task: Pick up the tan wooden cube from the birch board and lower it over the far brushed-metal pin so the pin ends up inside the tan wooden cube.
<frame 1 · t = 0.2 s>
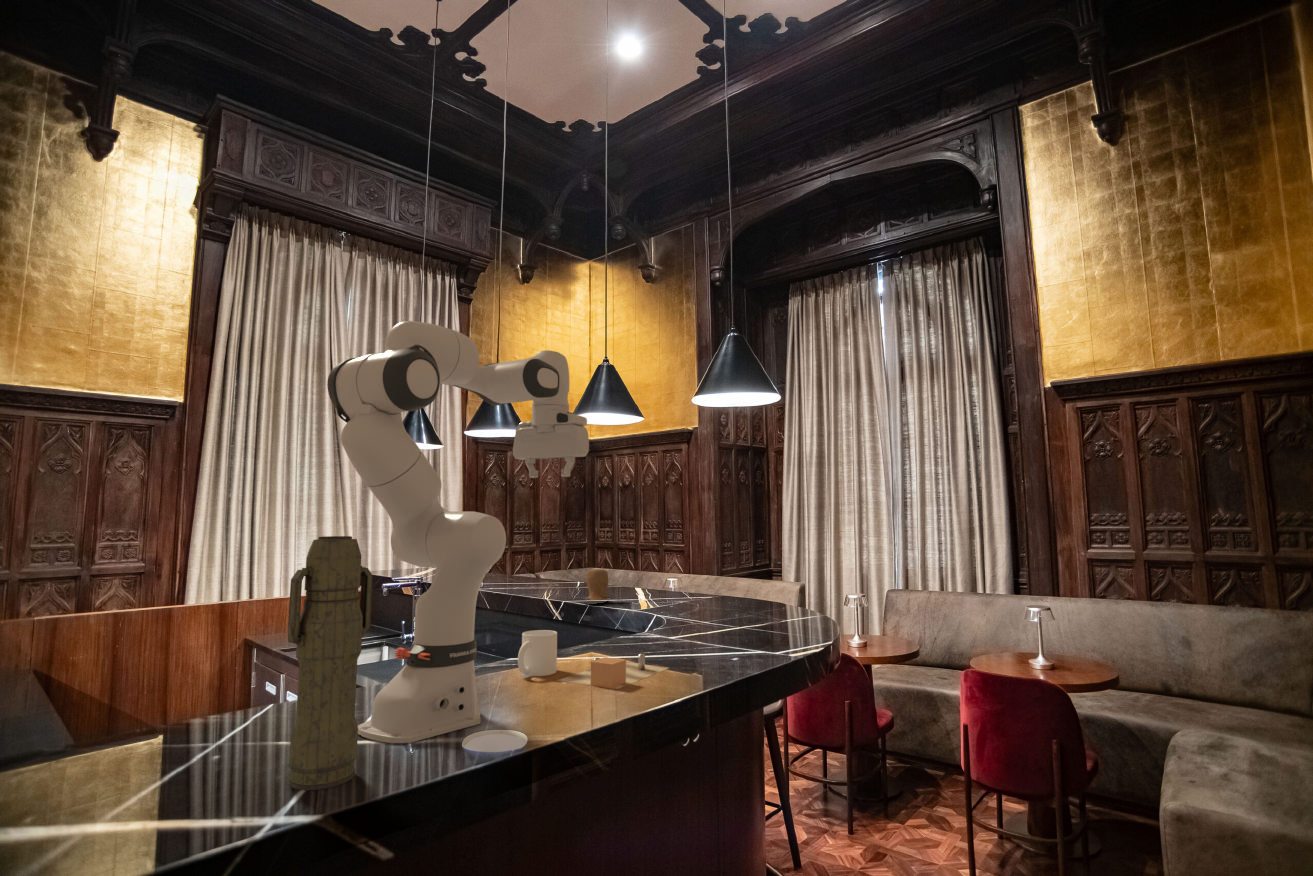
hand: (549, 477, 161), 47 cm above the counter, tool pointing down, fingers open, 8 cm apart
stone cup: (596, 604, 298), on the counter
mug: (534, 679, 160), on the counter
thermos: (323, 779, 99), on the counter
tan wooden cube: (608, 684, 150), point 1 cm above the counter, touching board
pins: (619, 664, 162), on the board, point 3 cm above the counter
board: (615, 679, 159), on the counter
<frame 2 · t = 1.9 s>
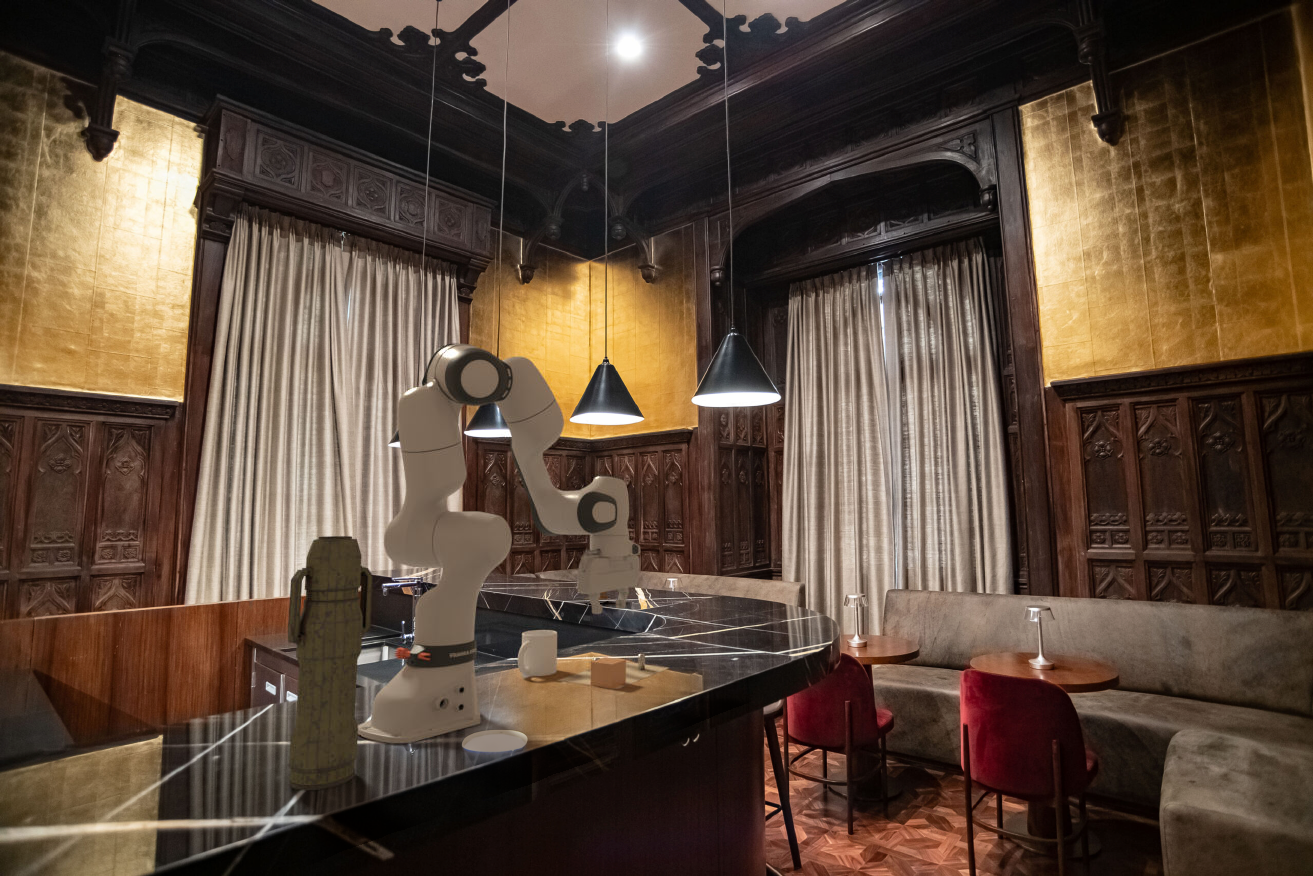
hand: (609, 610, 151), 17 cm above the counter, tool pointing down, fingers open, 8 cm apart
nothing on the counter moved.
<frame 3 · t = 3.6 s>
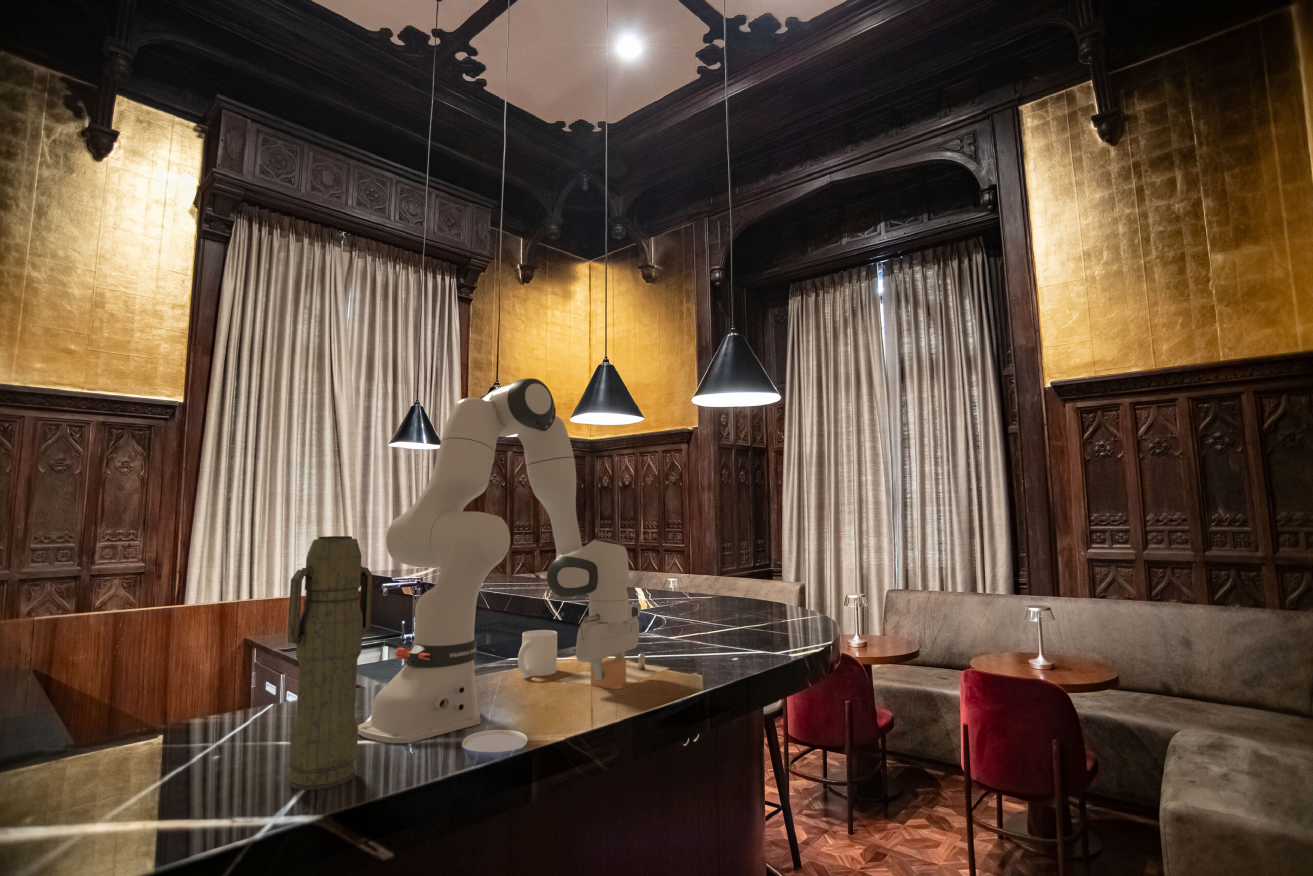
hand: (608, 676, 150), 3 cm above the counter, tool pointing down, fingers closed on tan wooden cube, 6 cm apart
tan wooden cube: (608, 684, 150), point 1 cm above the counter, touching board, gripper
everything else where it was.
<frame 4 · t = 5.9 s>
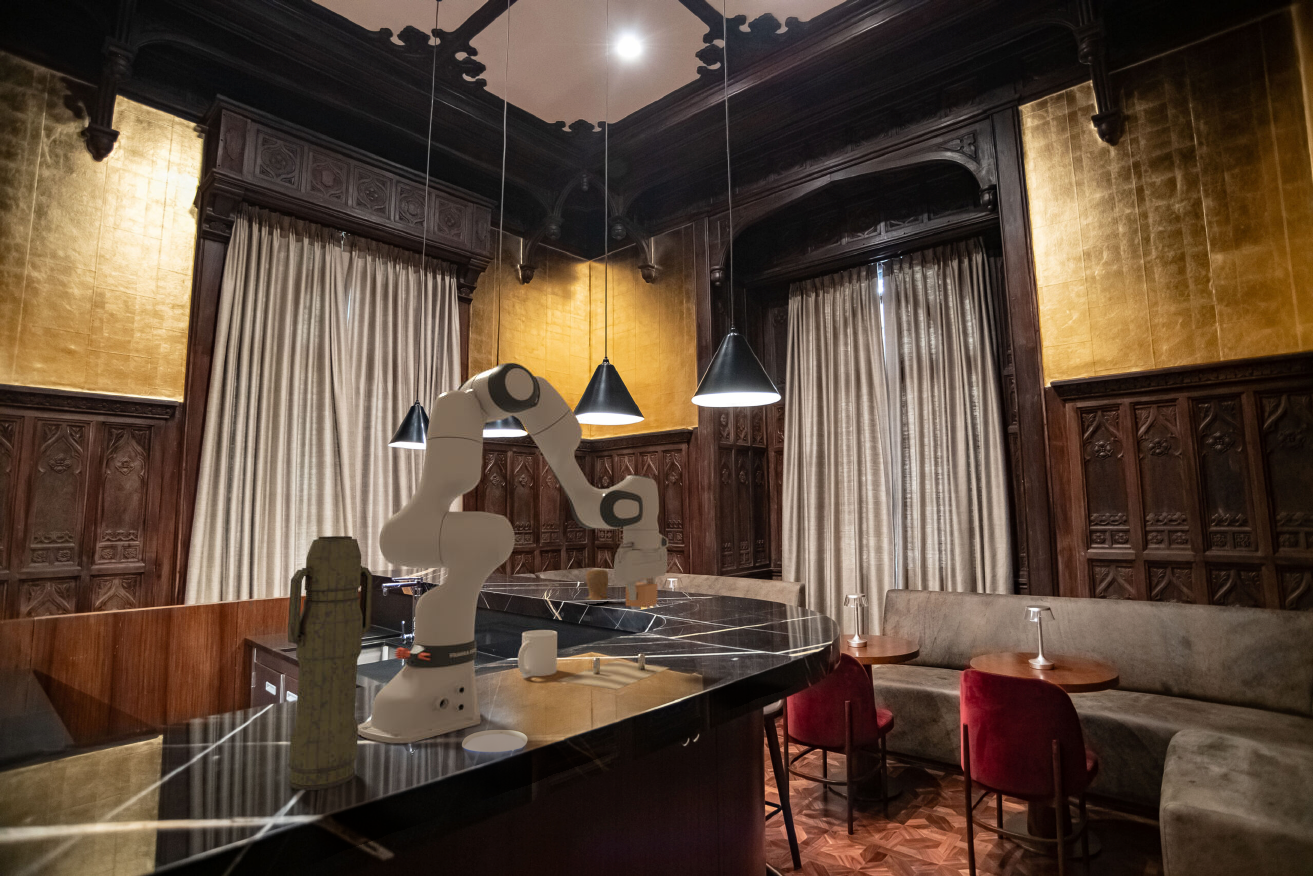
hand: (641, 598, 166), 18 cm above the counter, tool pointing down, fingers closed on tan wooden cube, 6 cm apart
tan wooden cube: (641, 605, 166), point 16 cm above the counter, touching gripper
everything else where it was.
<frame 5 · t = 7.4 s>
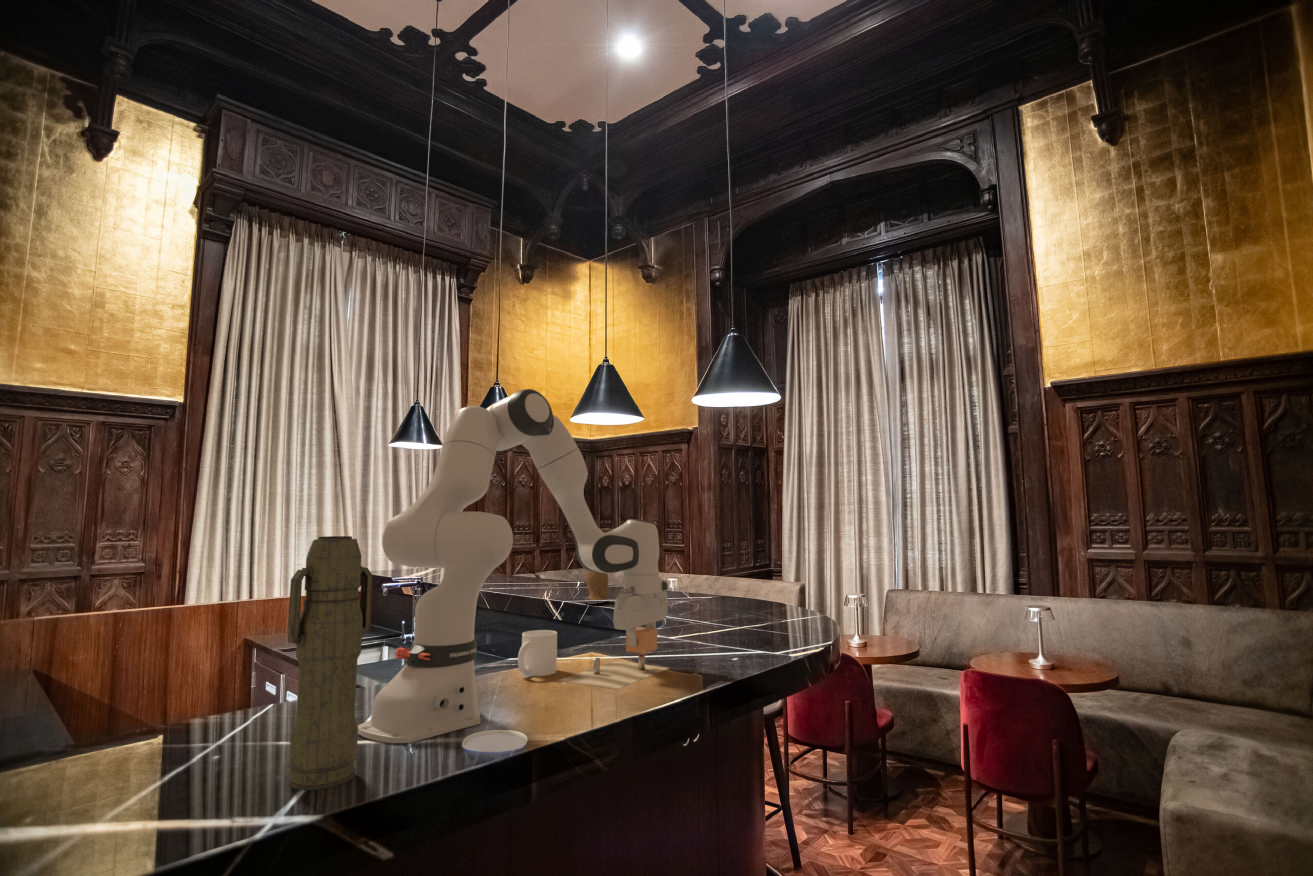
hand: (641, 643, 165), 7 cm above the counter, tool pointing down, fingers closed on tan wooden cube, 6 cm apart
tan wooden cube: (641, 650, 165), point 6 cm above the counter, touching gripper
everything else where it was.
when the fingers open (4 cm above the counter, at t = 8.5 s): tan wooden cube drops 1 cm, resting on board.
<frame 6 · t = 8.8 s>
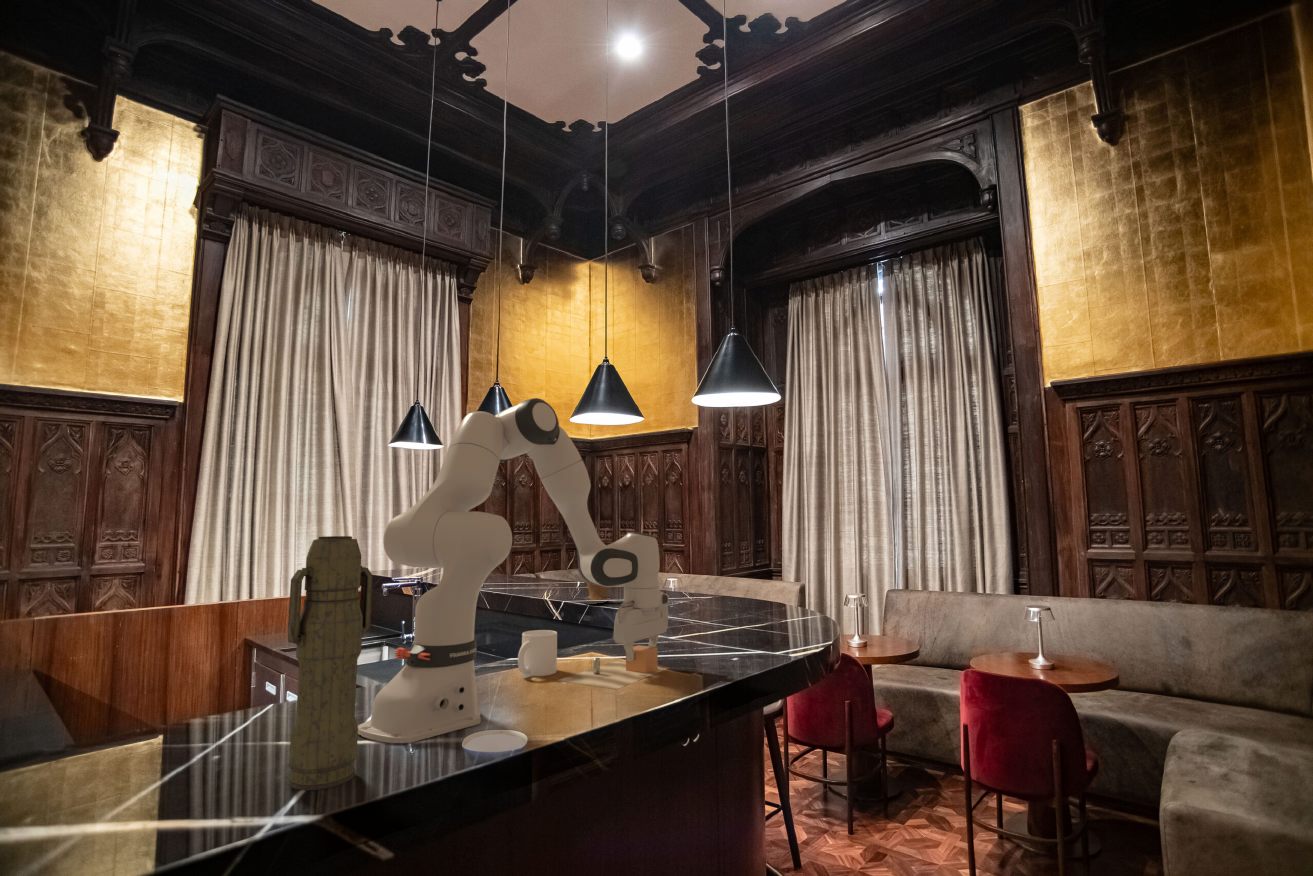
hand: (641, 657, 164), 4 cm above the counter, tool pointing down, fingers open, 8 cm apart
tan wooden cube: (641, 669, 164), point 1 cm above the counter, touching board
everything else where it was.
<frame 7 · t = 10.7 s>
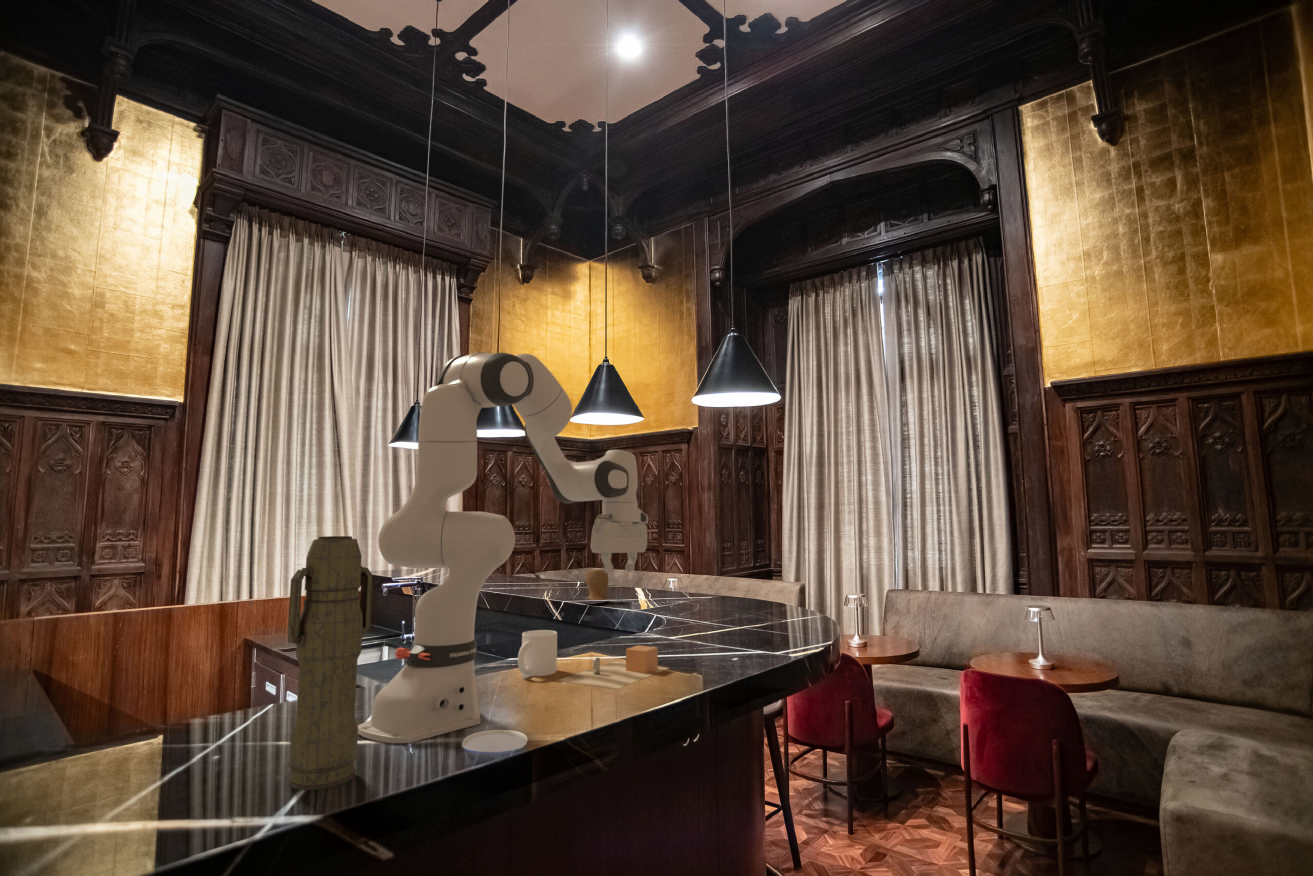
hand: (619, 571, 167), 24 cm above the counter, tool pointing down, fingers open, 8 cm apart
nothing on the counter moved.
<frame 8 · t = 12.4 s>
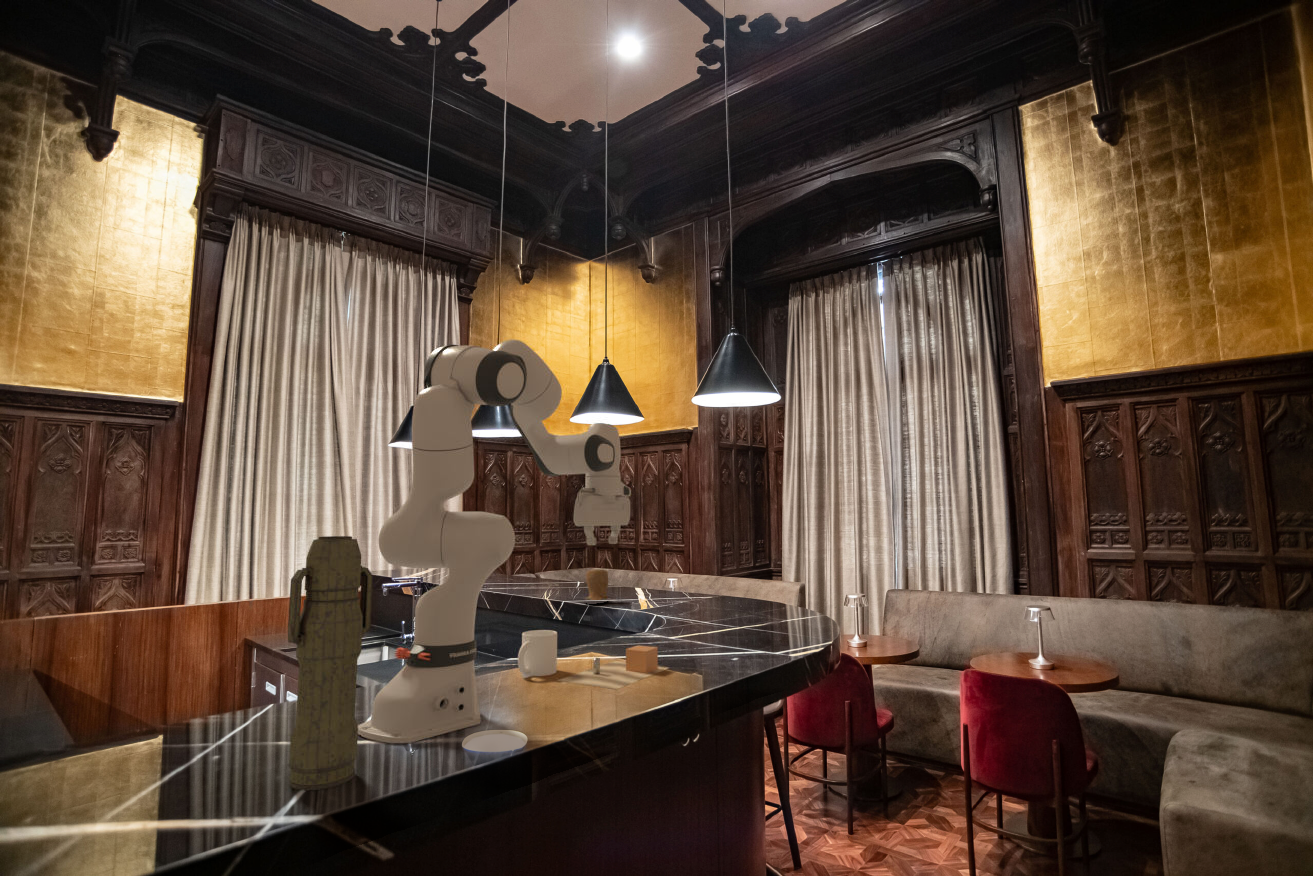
hand: (602, 544, 168), 31 cm above the counter, tool pointing down, fingers open, 8 cm apart
nothing on the counter moved.
at the end: tan wooden cube 0.1 cm from the target spot, point 1.2 cm above the counter; tan wooden cube tilted 0°; the gripper is holding nothing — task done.
